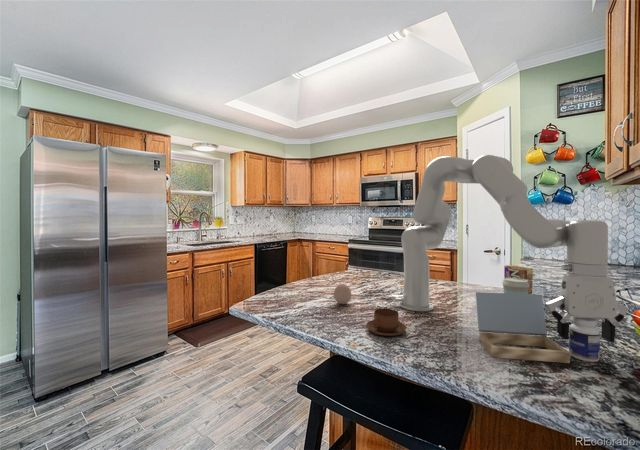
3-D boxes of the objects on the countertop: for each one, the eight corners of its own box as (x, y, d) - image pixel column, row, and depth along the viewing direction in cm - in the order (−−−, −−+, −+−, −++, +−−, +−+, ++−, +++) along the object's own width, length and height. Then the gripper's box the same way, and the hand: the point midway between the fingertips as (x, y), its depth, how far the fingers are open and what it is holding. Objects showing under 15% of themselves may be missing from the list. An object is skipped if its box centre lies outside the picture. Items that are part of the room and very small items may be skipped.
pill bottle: (563, 352, 77) (563, 314, 77) (583, 351, 77) (583, 313, 77) (584, 363, 71) (585, 322, 71) (606, 362, 72) (607, 321, 71)
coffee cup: (534, 316, 105) (534, 282, 104) (507, 314, 106) (507, 281, 106) (522, 308, 113) (523, 277, 113) (498, 307, 115) (498, 276, 114)
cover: (476, 292, 87) (475, 292, 88) (479, 331, 84) (478, 331, 85) (542, 294, 83) (540, 294, 84) (547, 336, 81) (545, 335, 82)
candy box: (533, 306, 115) (533, 267, 115) (526, 308, 113) (527, 268, 113) (509, 301, 123) (510, 264, 123) (503, 302, 121) (503, 265, 121)
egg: (345, 307, 116) (345, 286, 116) (330, 304, 120) (330, 284, 120) (354, 303, 122) (354, 283, 121) (340, 300, 126) (340, 281, 126)
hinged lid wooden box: (492, 357, 75) (492, 347, 74) (479, 340, 84) (479, 332, 84) (569, 363, 71) (569, 352, 71) (546, 345, 81) (546, 336, 81)
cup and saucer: (399, 343, 84) (399, 321, 84) (360, 334, 90) (360, 314, 90) (411, 329, 94) (411, 310, 94) (375, 322, 100) (375, 304, 100)
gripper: (555, 271, 71) (554, 342, 72) (641, 274, 68) (639, 347, 69) (539, 266, 79) (538, 330, 79) (615, 268, 75) (614, 335, 76)
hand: (585, 338), depth 74 cm, fingers open, 9 cm apart
